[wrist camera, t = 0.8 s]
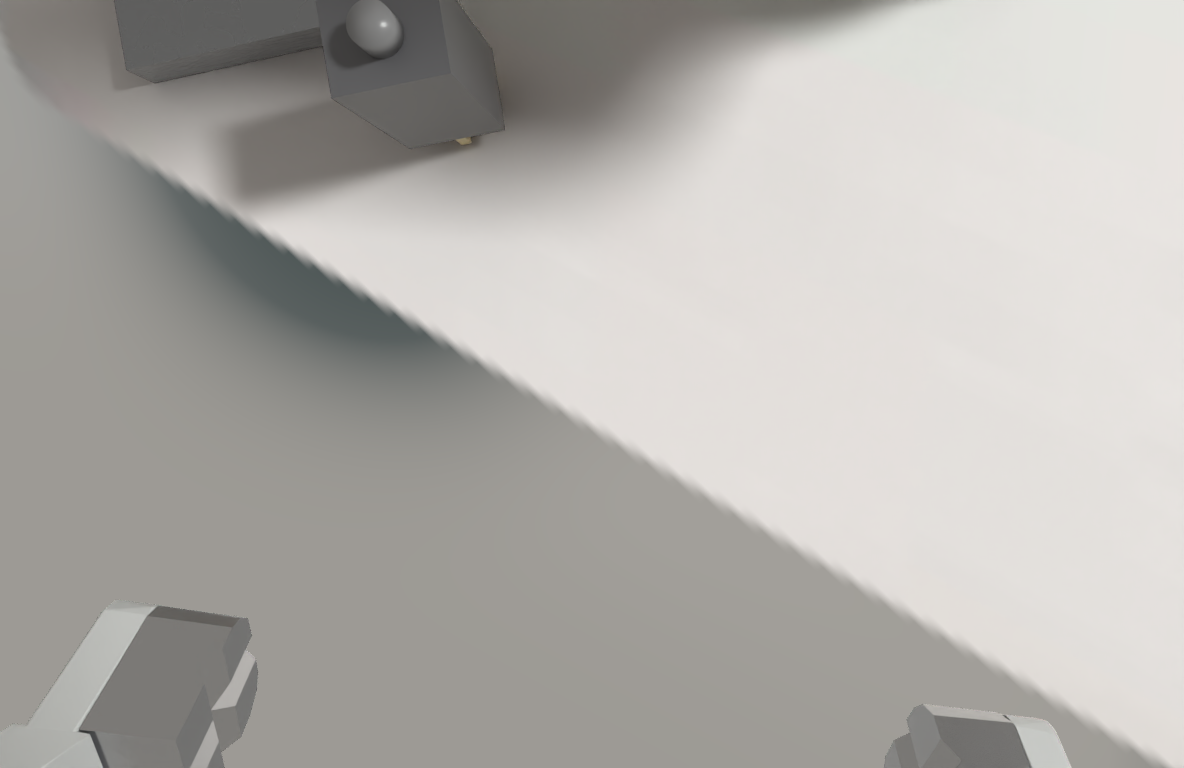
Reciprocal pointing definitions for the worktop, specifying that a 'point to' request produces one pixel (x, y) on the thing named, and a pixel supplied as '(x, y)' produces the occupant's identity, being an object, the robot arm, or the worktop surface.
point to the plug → (411, 68)
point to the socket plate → (211, 33)
